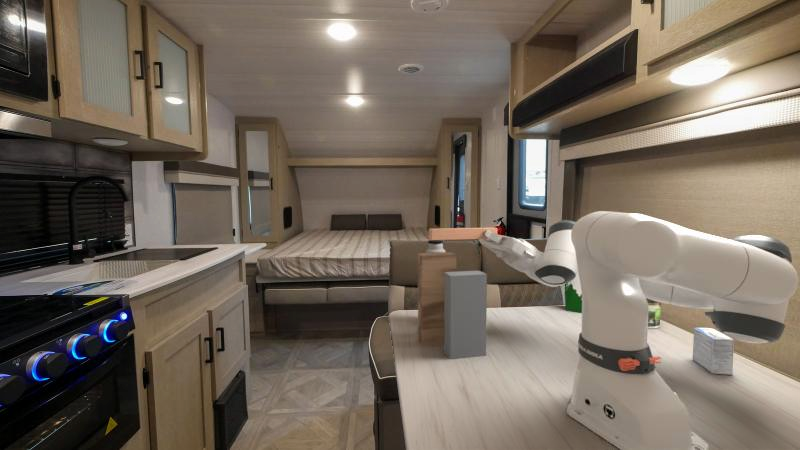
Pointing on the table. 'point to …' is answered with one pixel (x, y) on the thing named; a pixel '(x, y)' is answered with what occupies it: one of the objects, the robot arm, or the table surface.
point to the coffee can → (653, 314)
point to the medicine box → (713, 350)
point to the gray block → (465, 314)
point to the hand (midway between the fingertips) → (481, 231)
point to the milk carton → (573, 295)
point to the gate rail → (459, 233)
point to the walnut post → (432, 295)
